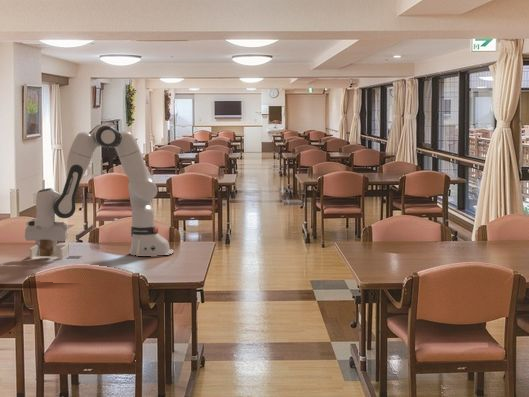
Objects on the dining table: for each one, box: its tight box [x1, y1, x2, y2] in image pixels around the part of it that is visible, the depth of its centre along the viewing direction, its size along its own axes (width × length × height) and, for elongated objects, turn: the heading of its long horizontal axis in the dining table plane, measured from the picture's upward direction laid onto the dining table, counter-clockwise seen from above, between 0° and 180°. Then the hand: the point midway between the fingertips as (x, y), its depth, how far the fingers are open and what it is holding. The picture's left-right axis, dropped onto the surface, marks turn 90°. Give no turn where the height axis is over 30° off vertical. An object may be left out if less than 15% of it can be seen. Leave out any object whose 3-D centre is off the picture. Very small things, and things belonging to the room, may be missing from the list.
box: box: [29, 244, 70, 260], centre depth 365 cm, size 16×11×6 cm
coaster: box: [65, 255, 83, 260], centre depth 363 cm, size 6×6×1 cm
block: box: [39, 240, 54, 256], centre depth 360 cm, size 5×5×8 cm
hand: (46, 249), depth 360 cm, fingers closed on block, 5 cm apart
